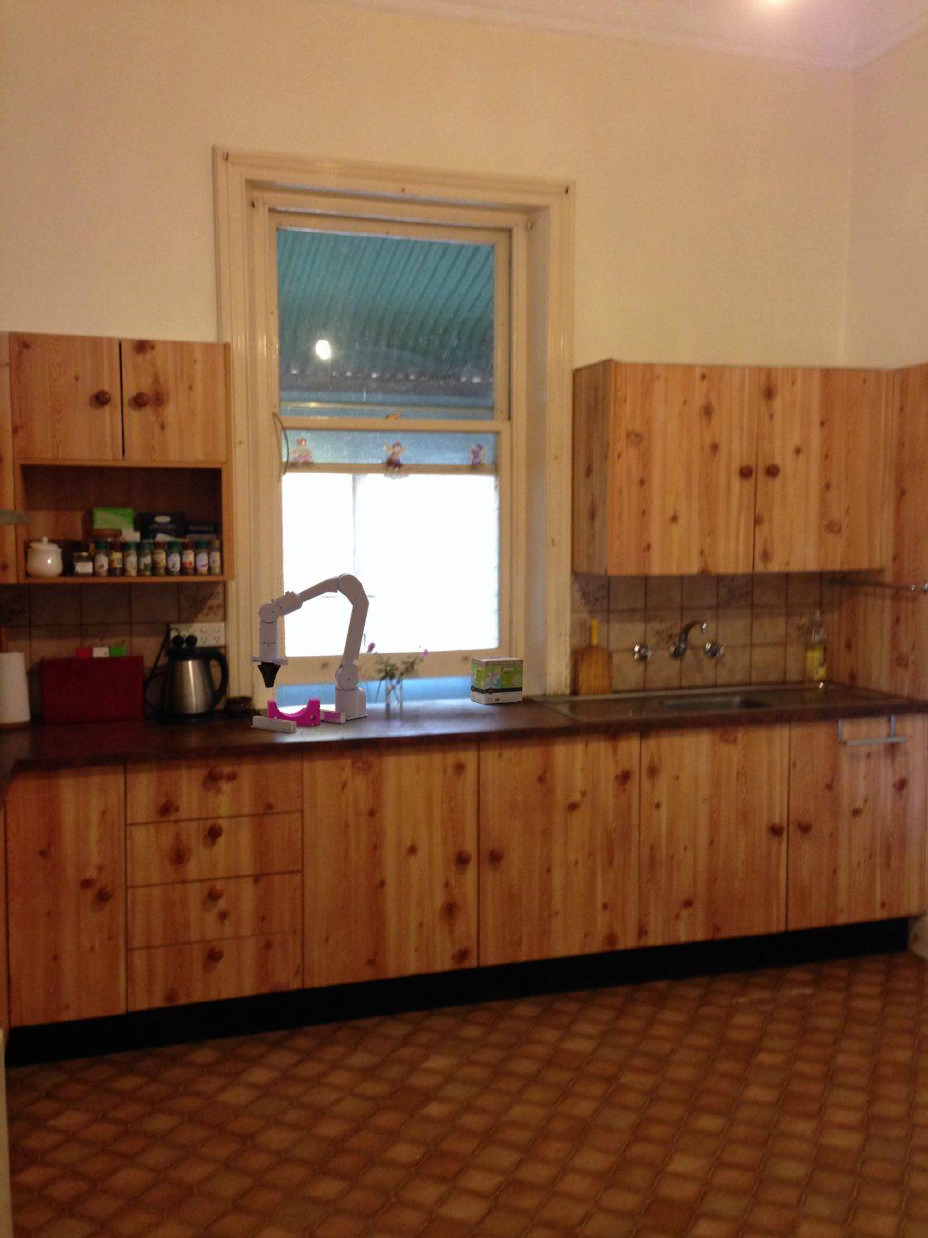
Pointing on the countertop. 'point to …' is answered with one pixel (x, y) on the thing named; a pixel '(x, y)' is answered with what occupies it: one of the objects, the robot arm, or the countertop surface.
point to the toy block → (297, 713)
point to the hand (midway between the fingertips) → (269, 687)
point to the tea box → (496, 680)
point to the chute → (290, 726)
